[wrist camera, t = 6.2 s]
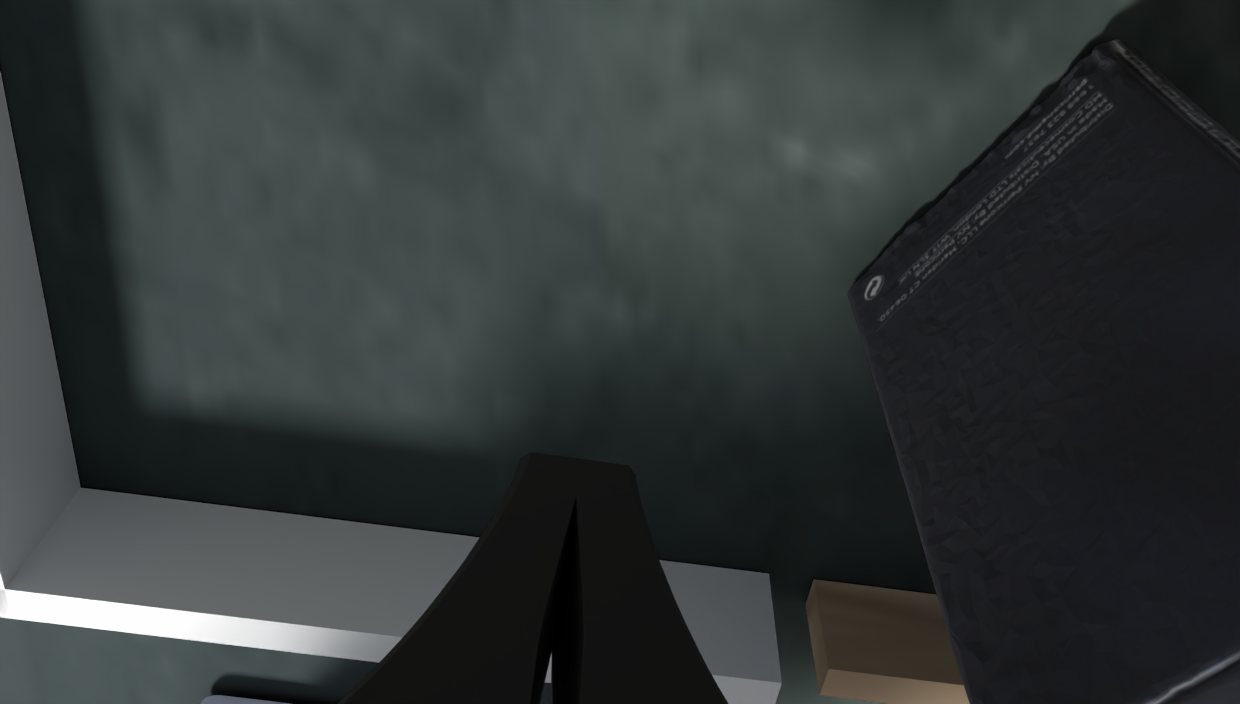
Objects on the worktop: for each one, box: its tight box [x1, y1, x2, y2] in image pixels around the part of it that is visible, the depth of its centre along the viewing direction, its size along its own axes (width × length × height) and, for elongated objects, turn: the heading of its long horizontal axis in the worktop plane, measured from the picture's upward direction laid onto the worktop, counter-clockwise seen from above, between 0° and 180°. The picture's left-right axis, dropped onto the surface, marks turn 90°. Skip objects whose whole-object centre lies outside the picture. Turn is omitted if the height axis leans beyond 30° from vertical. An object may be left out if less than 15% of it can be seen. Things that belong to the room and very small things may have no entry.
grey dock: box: [0, 72, 782, 704], centre depth 17 cm, size 16×16×3 cm
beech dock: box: [805, 579, 970, 704], centre depth 18 cm, size 16×12×2 cm
